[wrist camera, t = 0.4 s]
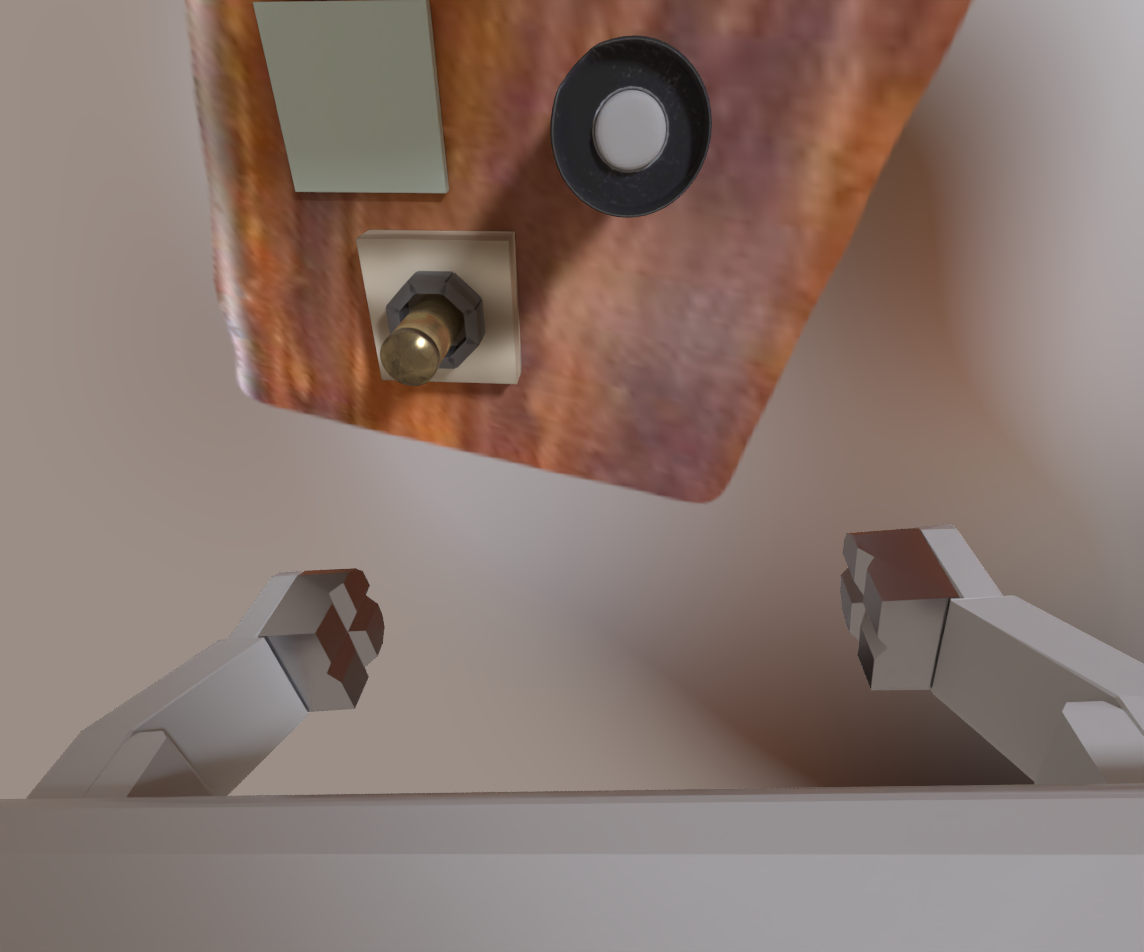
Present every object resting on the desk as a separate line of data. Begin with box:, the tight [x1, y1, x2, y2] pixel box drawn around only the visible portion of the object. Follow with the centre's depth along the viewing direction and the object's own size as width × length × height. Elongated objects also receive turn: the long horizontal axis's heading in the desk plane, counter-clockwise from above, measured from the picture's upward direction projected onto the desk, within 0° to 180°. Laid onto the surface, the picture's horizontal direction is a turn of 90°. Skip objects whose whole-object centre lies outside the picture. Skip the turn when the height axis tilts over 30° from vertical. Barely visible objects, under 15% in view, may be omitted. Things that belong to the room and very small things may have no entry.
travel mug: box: [550, 36, 712, 217], centre depth 38 cm, size 8×8×20 cm
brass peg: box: [380, 294, 465, 386], centre depth 49 cm, size 4×4×9 cm
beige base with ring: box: [356, 230, 522, 384], centre depth 53 cm, size 12×12×6 cm
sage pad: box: [253, 0, 449, 193], centre depth 47 cm, size 12×12×1 cm
